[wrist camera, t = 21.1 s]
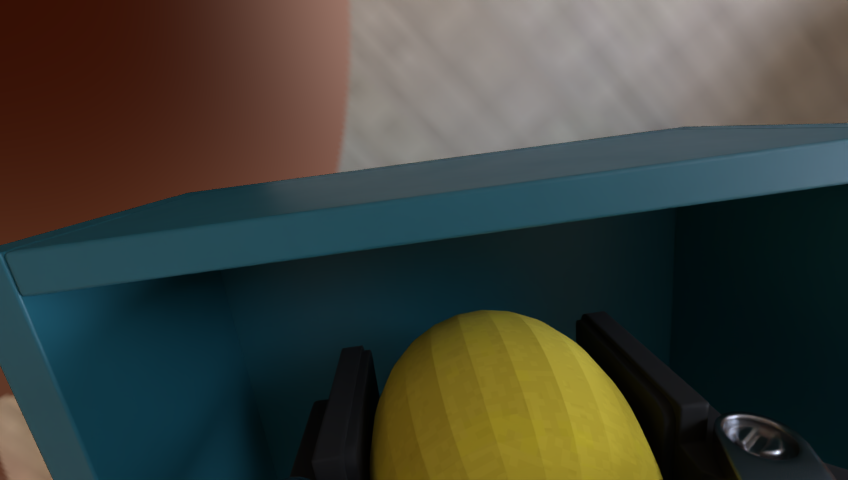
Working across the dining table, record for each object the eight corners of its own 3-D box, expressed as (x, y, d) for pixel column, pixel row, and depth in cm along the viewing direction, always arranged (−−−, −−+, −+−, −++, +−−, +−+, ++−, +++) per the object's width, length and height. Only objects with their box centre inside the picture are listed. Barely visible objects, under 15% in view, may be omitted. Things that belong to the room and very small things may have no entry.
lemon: (362, 287, 12) (285, 589, 4) (548, 251, 12) (837, 482, 4) (399, 441, 13) (397, 883, 5) (565, 409, 13) (798, 802, 5)
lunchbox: (186, 192, 13) (-52, 259, 6) (685, 126, 14) (986, 119, 7) (274, 500, 17) (183, 764, 10) (671, 440, 17) (859, 654, 10)
